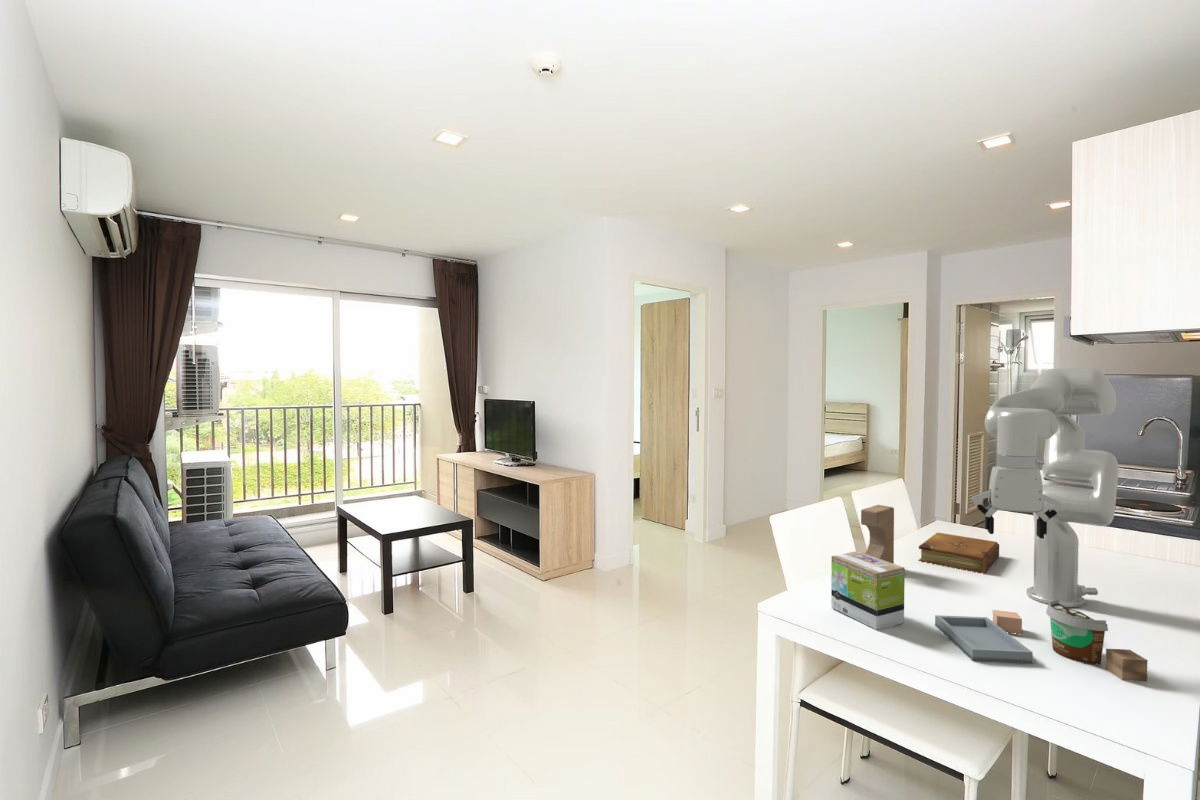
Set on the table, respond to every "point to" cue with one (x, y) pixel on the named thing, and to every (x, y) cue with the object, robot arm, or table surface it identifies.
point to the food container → (1076, 634)
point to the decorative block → (880, 531)
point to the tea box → (868, 589)
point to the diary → (959, 552)
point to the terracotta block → (1008, 621)
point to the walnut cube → (1126, 665)
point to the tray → (983, 639)
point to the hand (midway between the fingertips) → (1014, 534)
